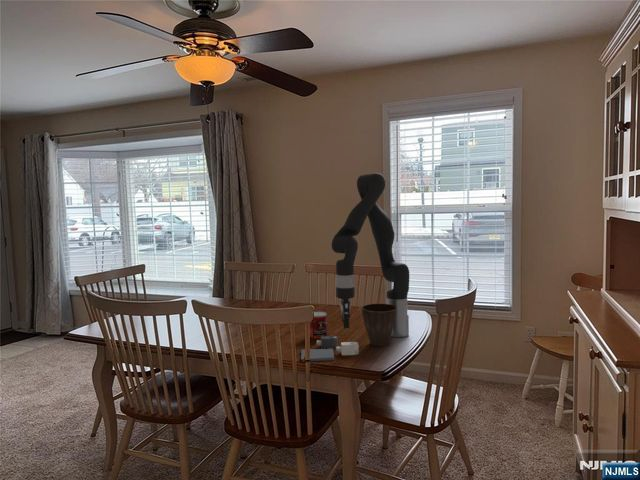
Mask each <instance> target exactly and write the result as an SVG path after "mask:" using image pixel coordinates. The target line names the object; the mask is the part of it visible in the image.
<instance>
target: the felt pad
mask: <svg viewBox="0 0 640 480" xmlns="http://www.w3.org/2000/svg"><path fill="white" fill-rule="evenodd" d="M305 349H306V348H305ZM305 349H301V352H300V353H301V355H300V361H301V360H302V359H304V357H305ZM309 349H310V361H309V362H320V361H321V362H322V361H327V362H328V361H335V353H334V348H327V349H322V348H312V349H311V348H309Z"/></svg>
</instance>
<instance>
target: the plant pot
mask: <svg viewBox="0 0 640 480" xmlns="http://www.w3.org/2000/svg"><path fill="white" fill-rule="evenodd" d="M396 310H397V307H396V306H393V305H390V304H387V303H369V304H364V305H362V306H361V313H362V319H363V323H364V328H365V331H366V334H367V337H368V340H369V342H370V344H371V345H372V346H375V347H385V346H387V345H389V343H390V340H391V337H392V336H391V334H392V331H393V327H394V323H395V317H396Z"/></svg>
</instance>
